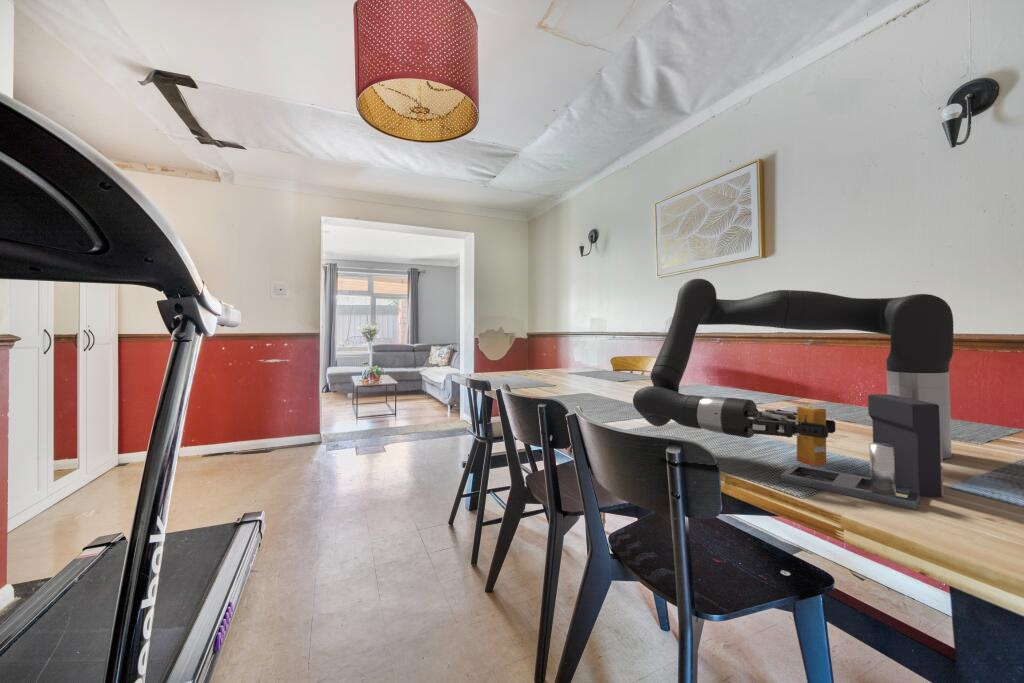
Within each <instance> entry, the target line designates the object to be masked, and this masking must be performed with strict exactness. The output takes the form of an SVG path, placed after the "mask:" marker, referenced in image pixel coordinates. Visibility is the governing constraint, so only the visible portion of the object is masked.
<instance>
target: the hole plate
mask: <svg viewBox="0 0 1024 683" xmlns="http://www.w3.org/2000/svg"><path fill="white" fill-rule="evenodd" d="M799 472H800V473H799ZM798 473H799V474H803V473H804V475H808V474H809V476H813V475H815V476H814V477H818V476H819V478H823V477H824V479H828V478H829V479H830V480H833V479H835V480H833V481H832V482H830V481H825V480H818V479H814V478H810V477H805V476H799V474H798ZM797 474H798V475H797ZM780 482H783V483H789V484H793V485H797V486H802V487H806V486H807V488H811V487H813V488H812V489H815V488H817V490H820V489H822V490H821V491H825V490H826V492H829V491H830V493H834V492H835V494H839V495H843V496H848V497H854V498H858V499H862V500H868V501H872V502H877V503H881V504H887V505H891V506H897V507H900V508H905V509H909V510H914V511H917V508H918V505H919V502H920V501H921V498H922V497H921V489H919V488H917V487H915V486H912V485H906V484H901V483H896V493H902V494H907V497H904V496H899V495H896V496H895V495H890V494H885V493H880V492H875V491H871V489H863V488H862V487H863V486H865V487H870V488H871V485H870V477H867V476H861V475H856V474H851V473H845V472H841V471H834V470H829V469H823V468H817V467H814V466H806V465H800V464H796V463H794V464H793V465H792V466H790V467H788V468H787V469H786V470H785V471H783V472H782V473H781V474H780Z"/></svg>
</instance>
